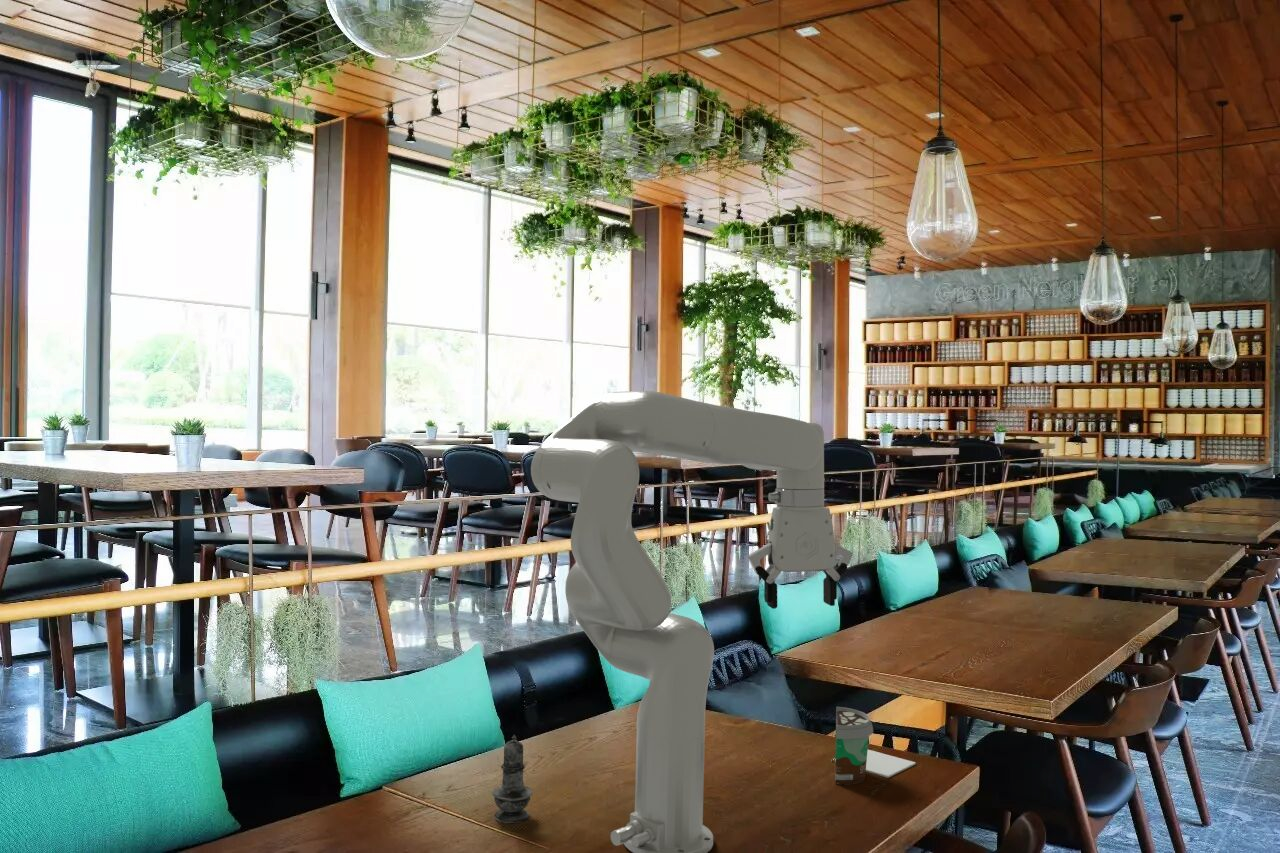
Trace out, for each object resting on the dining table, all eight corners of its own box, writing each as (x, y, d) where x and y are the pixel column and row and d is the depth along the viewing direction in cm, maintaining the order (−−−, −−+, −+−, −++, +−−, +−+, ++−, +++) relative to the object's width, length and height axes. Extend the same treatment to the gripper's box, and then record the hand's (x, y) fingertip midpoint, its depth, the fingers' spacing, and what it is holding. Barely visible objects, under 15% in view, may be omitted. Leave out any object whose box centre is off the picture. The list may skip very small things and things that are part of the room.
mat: (887, 777, 159) (887, 776, 159) (831, 761, 167) (831, 759, 167) (915, 764, 166) (915, 762, 166) (860, 749, 174) (860, 747, 174)
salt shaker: (512, 805, 143) (515, 726, 143) (540, 816, 139) (542, 734, 140) (483, 816, 138) (485, 735, 139) (510, 828, 135) (513, 744, 135)
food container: (873, 791, 153) (875, 729, 153) (835, 787, 154) (836, 726, 154) (870, 765, 165) (872, 708, 165) (835, 762, 166) (836, 705, 166)
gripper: (755, 502, 146) (756, 612, 146) (860, 500, 149) (860, 608, 149) (741, 498, 153) (742, 603, 153) (841, 496, 156) (842, 598, 156)
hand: (800, 605), depth 151 cm, fingers open, 9 cm apart
